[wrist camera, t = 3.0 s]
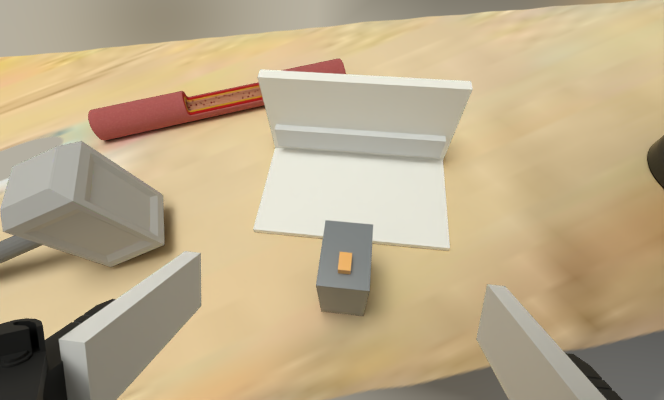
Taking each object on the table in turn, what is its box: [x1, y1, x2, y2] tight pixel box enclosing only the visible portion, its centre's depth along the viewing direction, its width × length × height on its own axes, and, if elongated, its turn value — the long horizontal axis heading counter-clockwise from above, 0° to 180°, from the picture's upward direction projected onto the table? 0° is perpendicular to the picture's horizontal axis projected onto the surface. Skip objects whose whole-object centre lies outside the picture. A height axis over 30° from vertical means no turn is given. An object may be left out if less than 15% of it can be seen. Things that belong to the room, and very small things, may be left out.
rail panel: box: [253, 69, 472, 251], centre depth 42 cm, size 26×16×14 cm, turn 83°
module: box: [316, 220, 373, 316], centre depth 36 cm, size 5×7×11 cm
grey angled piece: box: [0, 141, 164, 267], centre depth 39 cm, size 15×8×30 cm
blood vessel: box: [88, 59, 346, 140], centre depth 57 cm, size 42×5×5 cm, turn 107°
